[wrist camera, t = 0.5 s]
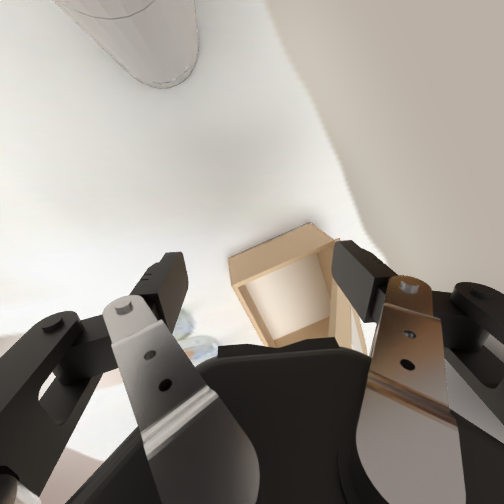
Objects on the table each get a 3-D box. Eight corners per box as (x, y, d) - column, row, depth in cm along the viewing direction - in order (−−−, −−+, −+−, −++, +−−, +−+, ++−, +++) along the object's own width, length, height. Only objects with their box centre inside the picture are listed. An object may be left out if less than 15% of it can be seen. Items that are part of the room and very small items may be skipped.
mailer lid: (327, 337, 16) (336, 337, 16) (335, 238, 27) (340, 238, 27) (370, 459, 25) (376, 461, 24) (363, 347, 36) (367, 347, 35)
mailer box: (227, 258, 35) (231, 285, 28) (309, 222, 35) (334, 240, 27) (271, 341, 43) (282, 378, 36) (337, 312, 43) (361, 344, 36)
